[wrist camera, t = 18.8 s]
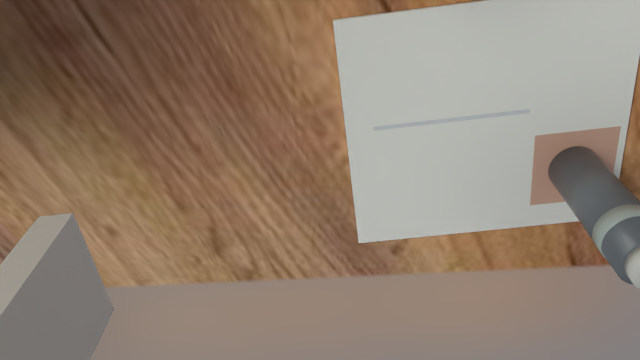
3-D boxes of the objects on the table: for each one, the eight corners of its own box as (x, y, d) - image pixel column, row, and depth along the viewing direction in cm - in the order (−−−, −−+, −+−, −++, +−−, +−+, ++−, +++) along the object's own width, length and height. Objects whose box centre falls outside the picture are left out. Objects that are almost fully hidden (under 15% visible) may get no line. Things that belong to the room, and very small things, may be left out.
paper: (358, 241, 45) (358, 243, 45) (332, 19, 36) (332, 20, 36) (610, 215, 43) (612, 217, 43) (649, -22, 34) (652, -21, 34)
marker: (545, 191, 42) (618, 300, 32) (549, 148, 40) (628, 248, 30) (595, 186, 42) (685, 294, 31) (601, 142, 40) (699, 242, 30)
